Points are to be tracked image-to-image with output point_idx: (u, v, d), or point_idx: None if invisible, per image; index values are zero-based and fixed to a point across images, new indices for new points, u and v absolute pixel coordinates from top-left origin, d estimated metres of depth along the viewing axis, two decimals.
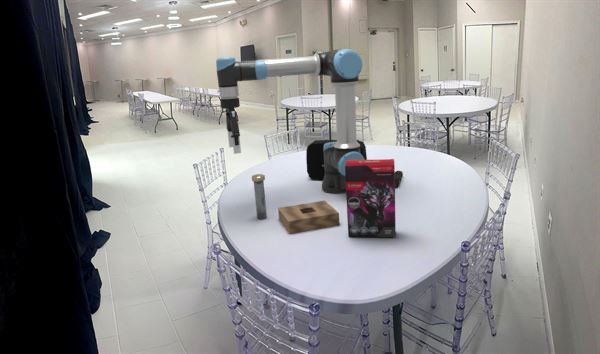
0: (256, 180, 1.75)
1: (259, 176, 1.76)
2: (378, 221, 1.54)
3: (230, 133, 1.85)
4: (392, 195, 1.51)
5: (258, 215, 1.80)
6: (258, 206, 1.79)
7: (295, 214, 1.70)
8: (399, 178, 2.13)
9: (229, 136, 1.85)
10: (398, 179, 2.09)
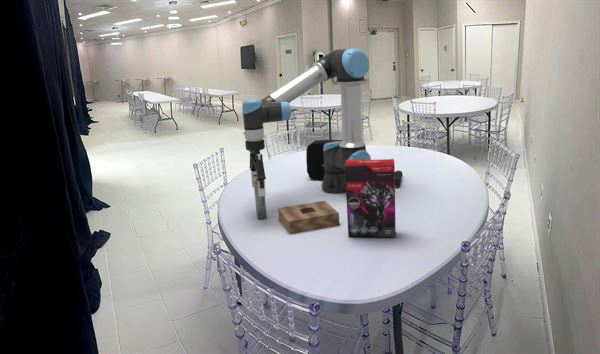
0: None
1: None
2: (378, 221, 1.54)
3: (253, 173, 1.83)
4: (392, 195, 1.51)
5: (258, 215, 1.80)
6: (258, 206, 1.79)
7: (295, 214, 1.70)
8: (400, 178, 2.13)
9: None
10: (399, 179, 2.09)
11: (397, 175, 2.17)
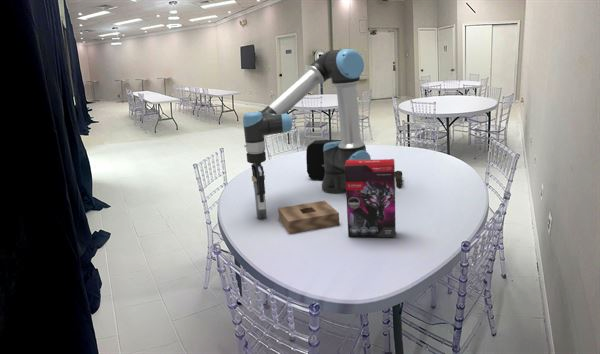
0: (256, 180, 1.75)
1: None
2: (378, 221, 1.54)
3: None
4: (392, 195, 1.51)
5: (258, 215, 1.80)
6: None
7: (295, 214, 1.70)
8: None
9: None
10: (401, 179, 2.09)
11: (398, 175, 2.17)
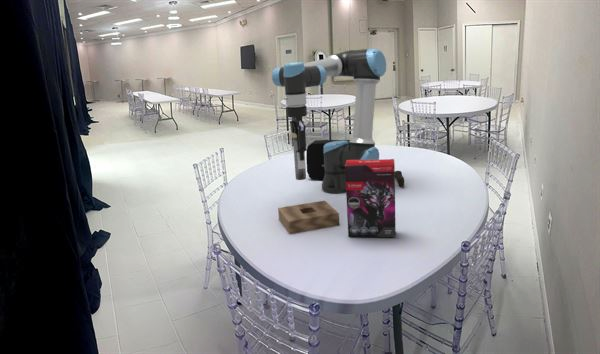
0: (296, 136, 1.63)
1: None
2: (378, 221, 1.54)
3: None
4: (392, 195, 1.51)
5: (297, 175, 1.68)
6: (297, 165, 1.67)
7: (295, 214, 1.70)
8: None
9: None
10: (403, 179, 2.09)
11: (399, 175, 2.17)
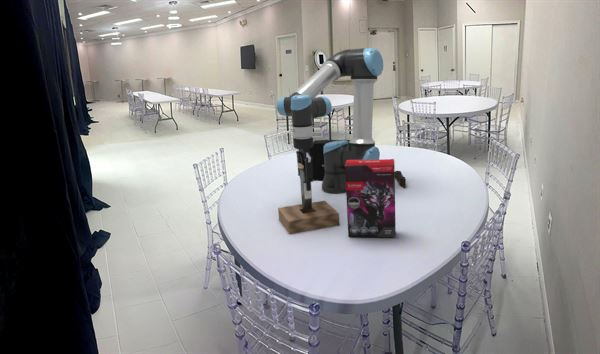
0: (303, 167, 1.65)
1: None
2: (378, 221, 1.54)
3: None
4: (392, 195, 1.51)
5: (303, 205, 1.70)
6: (304, 195, 1.69)
7: (295, 214, 1.70)
8: None
9: None
10: (405, 179, 2.09)
11: (399, 175, 2.17)
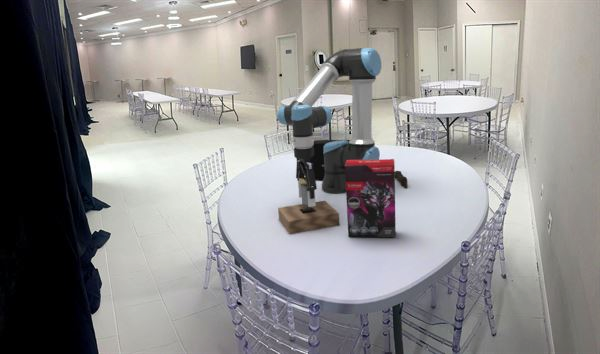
0: (304, 183, 1.67)
1: None
2: (378, 221, 1.54)
3: None
4: (392, 195, 1.51)
5: None
6: (305, 210, 1.71)
7: (295, 214, 1.70)
8: None
9: (299, 186, 1.76)
10: None
11: (400, 175, 2.17)
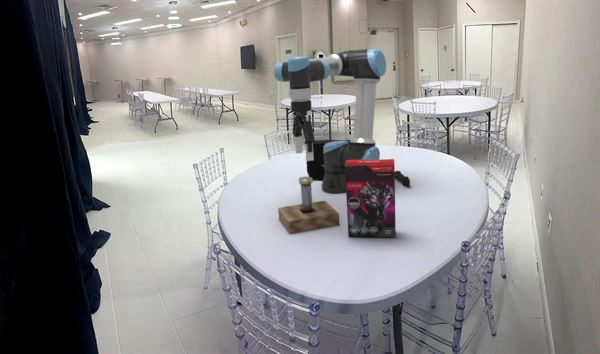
0: (304, 183, 1.67)
1: (307, 179, 1.69)
2: (378, 221, 1.54)
3: (297, 138, 1.71)
4: (392, 195, 1.51)
5: None
6: (305, 210, 1.71)
7: (295, 214, 1.70)
8: None
9: (296, 141, 1.71)
10: None
11: (401, 175, 2.17)
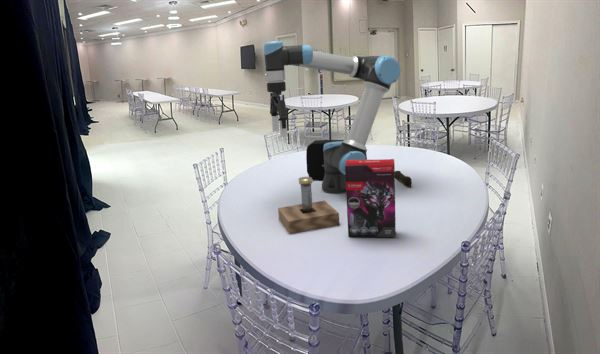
0: (304, 183, 1.67)
1: (307, 179, 1.69)
2: (378, 221, 1.54)
3: (274, 117, 1.87)
4: (392, 195, 1.51)
5: None
6: (305, 210, 1.71)
7: (295, 214, 1.70)
8: None
9: (273, 120, 1.87)
10: (410, 178, 2.09)
11: (402, 175, 2.17)
